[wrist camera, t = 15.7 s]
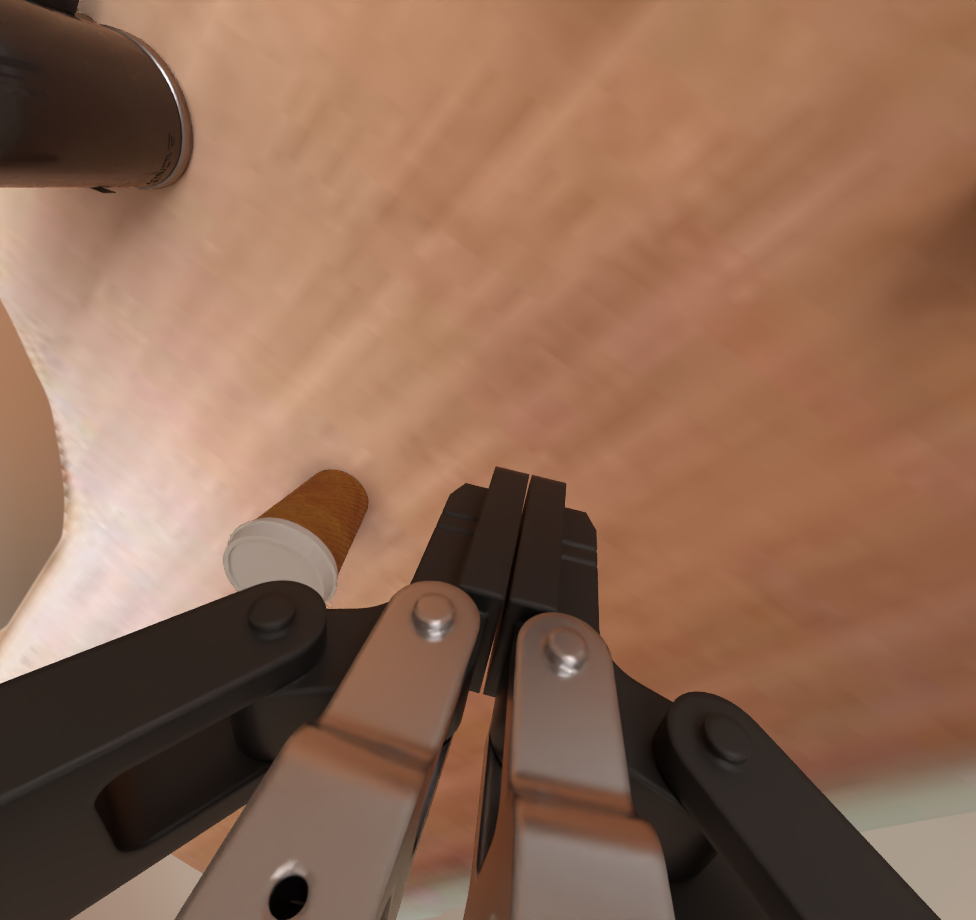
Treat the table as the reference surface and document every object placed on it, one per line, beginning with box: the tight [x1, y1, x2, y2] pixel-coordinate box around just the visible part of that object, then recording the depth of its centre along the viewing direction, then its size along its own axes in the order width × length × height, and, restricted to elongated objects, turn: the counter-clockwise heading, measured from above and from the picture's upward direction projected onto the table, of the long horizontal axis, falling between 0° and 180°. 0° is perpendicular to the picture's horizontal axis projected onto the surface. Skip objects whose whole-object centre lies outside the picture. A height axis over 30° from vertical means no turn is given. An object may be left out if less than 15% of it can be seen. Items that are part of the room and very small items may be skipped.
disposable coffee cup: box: [223, 470, 368, 604], centre depth 44 cm, size 10×10×12 cm
